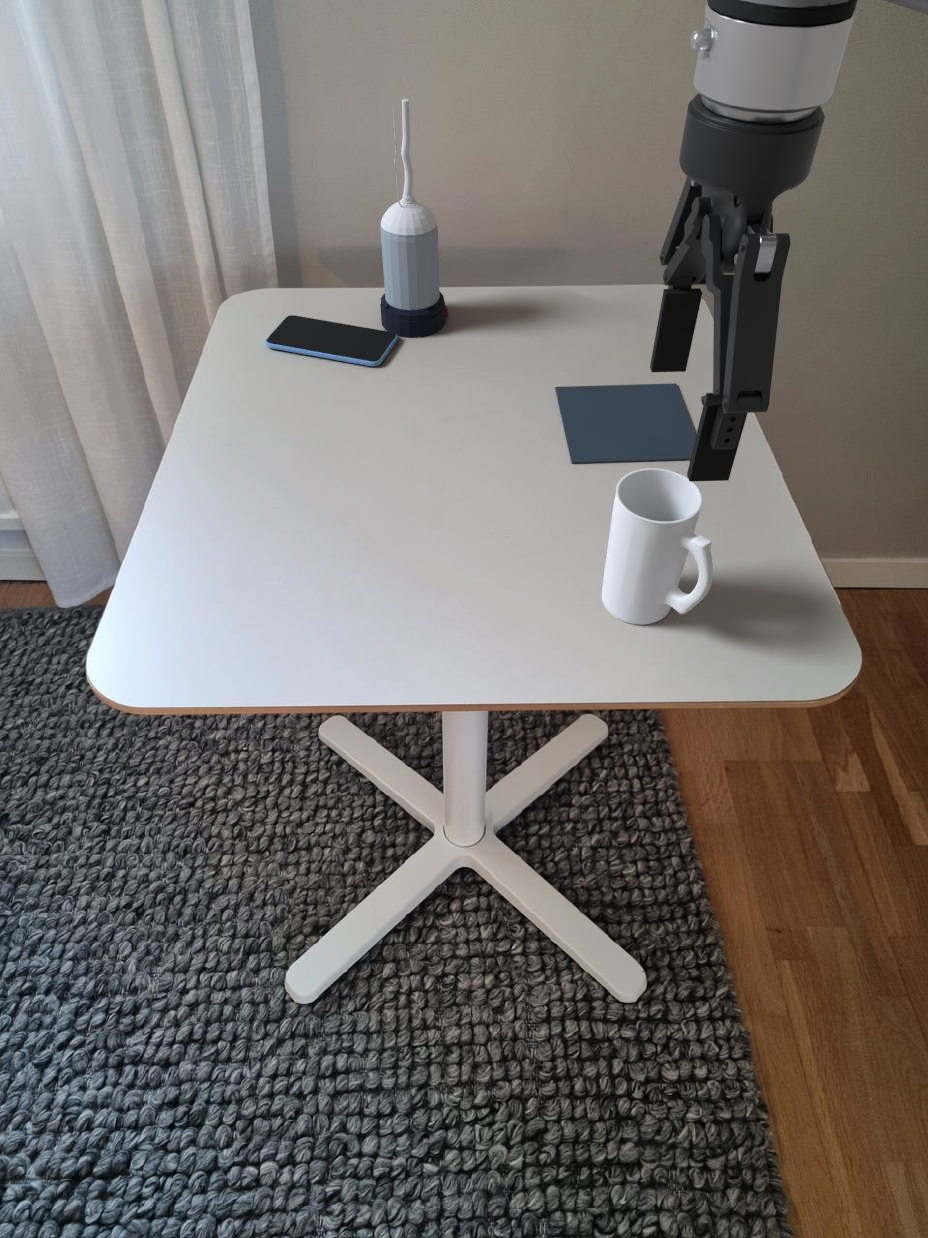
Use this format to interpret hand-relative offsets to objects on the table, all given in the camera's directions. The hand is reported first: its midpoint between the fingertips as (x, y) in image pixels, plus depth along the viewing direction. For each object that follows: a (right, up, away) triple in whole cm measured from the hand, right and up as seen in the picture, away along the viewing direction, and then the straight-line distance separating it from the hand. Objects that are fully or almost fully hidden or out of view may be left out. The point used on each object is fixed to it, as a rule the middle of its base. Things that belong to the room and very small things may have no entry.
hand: (686, 420), depth 64 cm
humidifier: (-23, +23, +46) cm, 56 cm away
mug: (0, -14, +12) cm, 19 cm away
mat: (+1, +7, +31) cm, 32 cm away
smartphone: (-32, +19, +42) cm, 56 cm away
